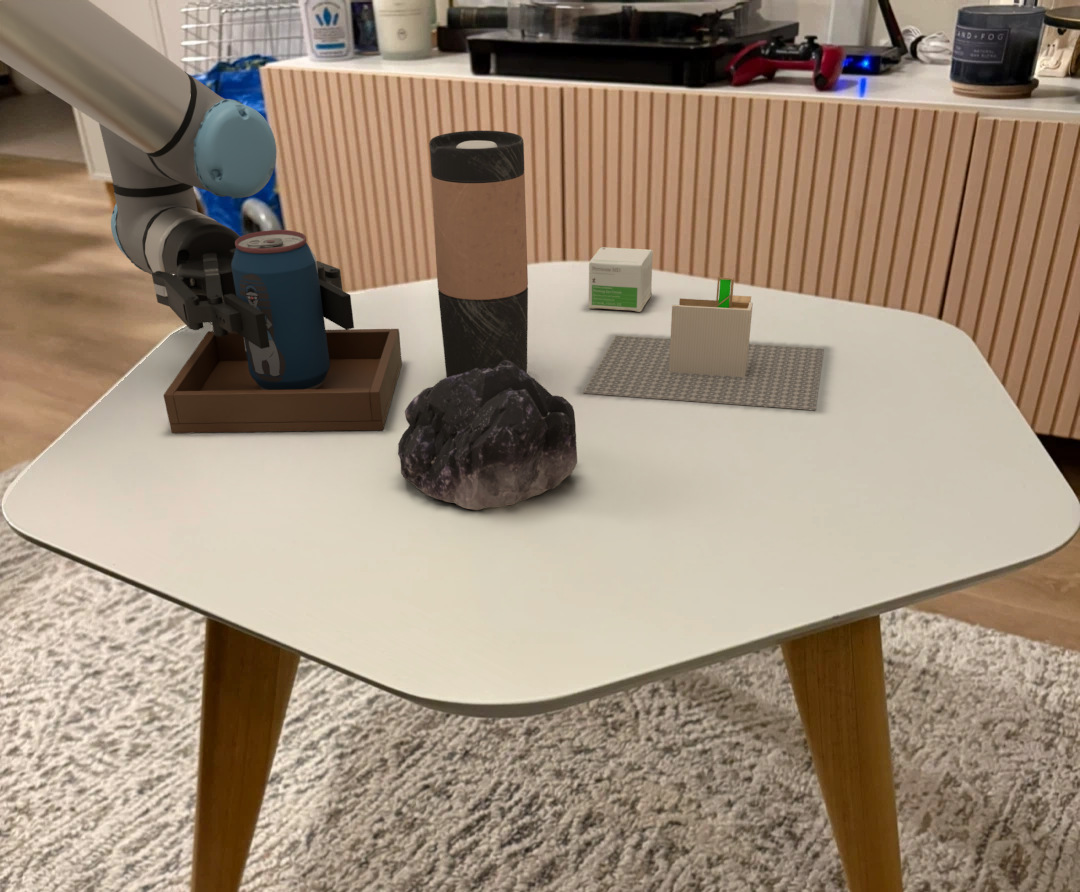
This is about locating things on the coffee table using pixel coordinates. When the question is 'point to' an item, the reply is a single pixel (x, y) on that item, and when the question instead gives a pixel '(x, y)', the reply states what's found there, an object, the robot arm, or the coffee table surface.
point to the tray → (242, 406)
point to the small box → (620, 278)
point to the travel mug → (480, 248)
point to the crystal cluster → (488, 438)
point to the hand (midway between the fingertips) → (306, 321)
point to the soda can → (283, 309)
